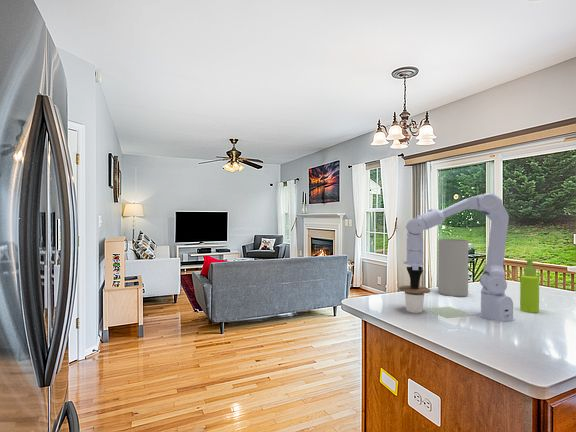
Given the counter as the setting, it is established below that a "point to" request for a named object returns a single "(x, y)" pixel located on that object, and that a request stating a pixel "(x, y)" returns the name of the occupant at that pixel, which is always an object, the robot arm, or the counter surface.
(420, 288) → the walnut lid
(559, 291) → the counter surface
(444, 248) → the cylinder vase
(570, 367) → the counter surface
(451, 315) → the sage mat
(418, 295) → the white cup
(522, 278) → the soap dispenser
